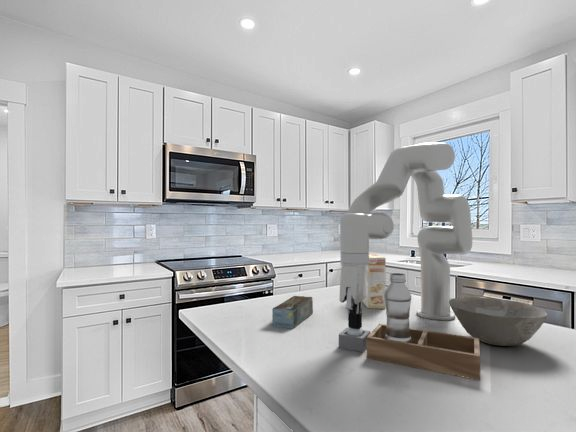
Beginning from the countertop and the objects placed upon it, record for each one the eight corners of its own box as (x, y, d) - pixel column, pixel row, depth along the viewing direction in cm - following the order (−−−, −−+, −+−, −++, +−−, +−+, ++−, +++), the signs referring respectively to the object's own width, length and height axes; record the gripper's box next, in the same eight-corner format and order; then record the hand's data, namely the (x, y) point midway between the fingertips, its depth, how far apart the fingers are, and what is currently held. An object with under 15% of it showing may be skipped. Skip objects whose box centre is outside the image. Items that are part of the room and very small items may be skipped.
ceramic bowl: (553, 365, 78) (552, 322, 78) (444, 346, 90) (443, 308, 90) (542, 337, 96) (541, 302, 96) (453, 324, 109) (453, 293, 109)
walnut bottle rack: (379, 341, 93) (379, 323, 93) (479, 359, 81) (478, 338, 81) (366, 357, 82) (366, 337, 82) (480, 380, 70) (479, 356, 70)
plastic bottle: (414, 360, 80) (414, 276, 81) (385, 357, 82) (384, 275, 82) (410, 350, 87) (409, 272, 87) (383, 348, 88) (382, 271, 88)
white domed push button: (349, 334, 92) (349, 325, 93) (364, 336, 91) (364, 327, 91) (345, 339, 89) (345, 329, 89) (359, 341, 87) (359, 331, 87)
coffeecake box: (386, 308, 128) (386, 257, 128) (367, 308, 128) (367, 257, 128) (376, 299, 143) (376, 253, 143) (359, 299, 143) (359, 253, 143)
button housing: (346, 340, 94) (346, 327, 94) (370, 344, 91) (370, 331, 91) (338, 347, 88) (338, 334, 89) (363, 352, 85) (363, 338, 85)
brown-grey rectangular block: (270, 326, 107) (271, 305, 107) (293, 311, 125) (293, 294, 125) (294, 329, 104) (294, 308, 104) (313, 314, 122) (313, 295, 122)
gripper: (350, 255, 99) (350, 318, 98) (331, 261, 85) (331, 333, 85) (375, 257, 95) (376, 322, 95) (360, 263, 82) (360, 338, 82)
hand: (355, 327), depth 90 cm, fingers closed
